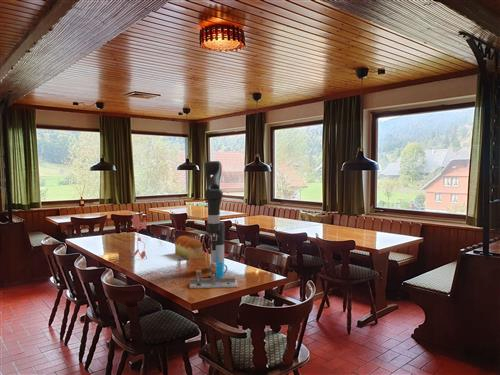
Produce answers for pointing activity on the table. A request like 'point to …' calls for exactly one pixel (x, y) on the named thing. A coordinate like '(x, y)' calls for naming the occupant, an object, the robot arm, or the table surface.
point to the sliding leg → (213, 271)
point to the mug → (220, 269)
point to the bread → (188, 247)
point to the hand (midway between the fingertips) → (213, 248)
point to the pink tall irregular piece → (136, 225)
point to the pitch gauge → (209, 282)
